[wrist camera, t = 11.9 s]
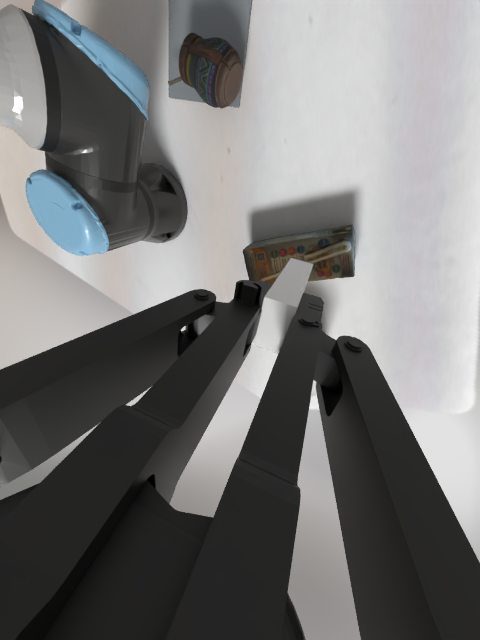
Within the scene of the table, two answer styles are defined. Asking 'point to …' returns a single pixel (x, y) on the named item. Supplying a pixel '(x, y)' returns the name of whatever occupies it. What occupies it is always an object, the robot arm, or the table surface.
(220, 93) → the mate gourd
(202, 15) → the mat
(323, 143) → the table surface
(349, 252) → the beverage carton
